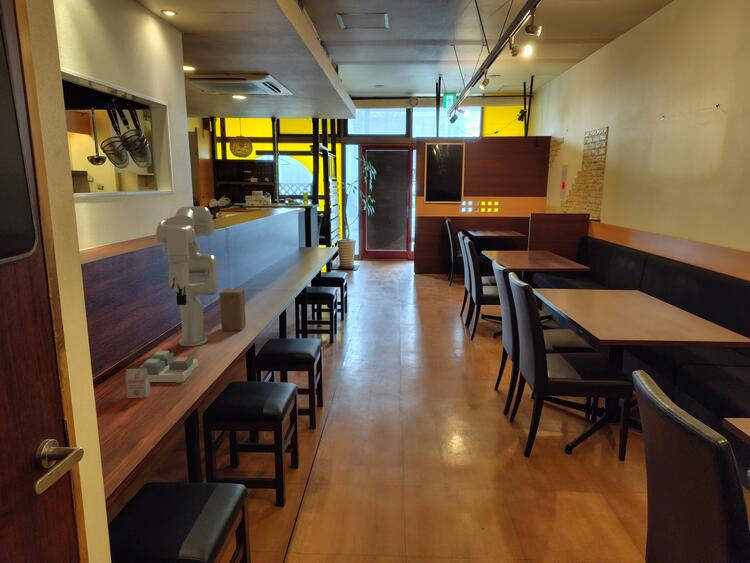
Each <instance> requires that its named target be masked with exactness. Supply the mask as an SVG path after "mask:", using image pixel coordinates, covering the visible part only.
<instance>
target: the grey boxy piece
mask: <svg viewBox="0 0 750 563" xmlns="http://www.w3.org/2000/svg"><path fill="white" fill-rule="evenodd" d="M124 372H125V375H124V389H125V390H124V391H125V392H124V393H125V398H126V397H147V396H148V395H149V394H150V393H151V383H150V380H149V375H148V373H147V369H139V368H125V371H124ZM151 394H152V393H151ZM151 394H150V395H151ZM150 395H149V396H150ZM149 396H148V397H149ZM148 397H147V398H148Z"/></svg>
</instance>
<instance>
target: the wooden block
mask: <svg viewBox="0 0 750 563" xmlns="http://www.w3.org/2000/svg"><path fill="white" fill-rule="evenodd" d="M245 302H246V301H245V289H244V288H224V289H223V290H222V291H220V292H219V306H220V308H219V309H220V322H221V324H220V325H221V331H223V332H241V331H242V330H243V329H244V328H245V326H246V325H247V323H246V306H245V305H246V303H245Z"/></svg>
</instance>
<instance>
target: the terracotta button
mask: <svg viewBox="0 0 750 563" xmlns="http://www.w3.org/2000/svg"><path fill="white" fill-rule="evenodd" d="M188 359H189V358H188V357H177V358H176V359H175V360H174V361H173V362H186V361H187V360H188Z"/></svg>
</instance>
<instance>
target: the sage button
mask: <svg viewBox="0 0 750 563" xmlns="http://www.w3.org/2000/svg"><path fill="white" fill-rule="evenodd" d="M169 353H170V351H169V350H157V352H154V354H153V355H154V358H166V357H167V356H168V355H169Z"/></svg>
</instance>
